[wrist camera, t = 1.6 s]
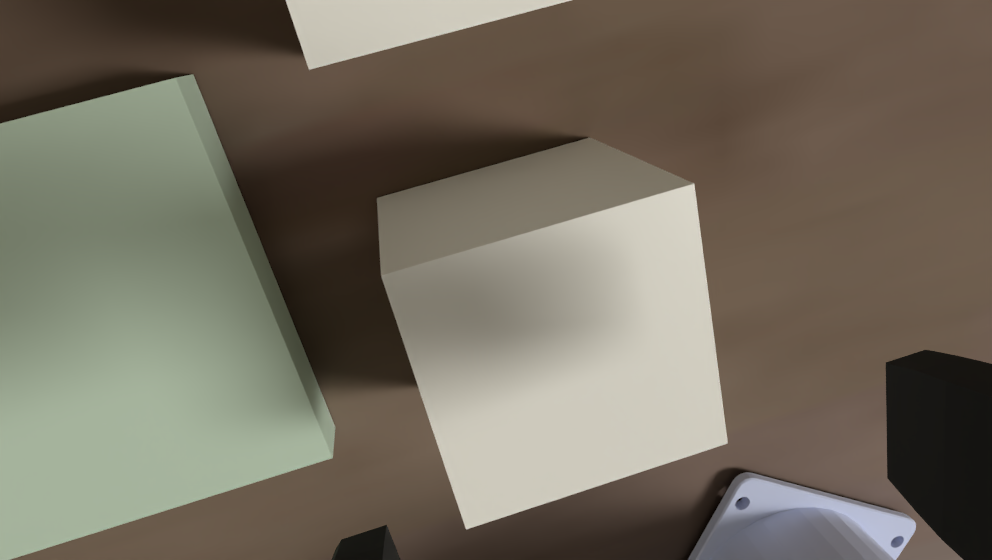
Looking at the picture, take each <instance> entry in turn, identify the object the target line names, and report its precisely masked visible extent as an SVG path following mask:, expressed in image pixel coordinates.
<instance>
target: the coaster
mask: <svg viewBox="0 0 992 560" xmlns="http://www.w3.org/2000/svg"><path fill="white" fill-rule="evenodd" d="M334 437H335V425H334V423H333V420H332V418H331V415H330V413H329V410H328V408H327V405H326V403H325V400H324V398H323V395H322V393H321V390H320V388H319V385H318V383H317V381H316V378H315V376H314V373H313V371H312V368H311V366H310V363H309V361H308V358H307V356H306V353H305V351H304V348H303V346H302V343H301V341H300V338H299V336H298V333H297V331H296V328H295V326H294V323H293V321H292V318H291V316H290V313H289V311H288V308H287V306H286V304H285V301H284V299H283V296H282V294H281V291H280V289H279V286H278V284H277V281H276V279H275V276H274V274H273V271H272V269H271V266H270V264H269V261H268V259H267V256H266V254H265V251H264V249H263V246H262V244H261V241H260V239H259V236H258V234H257V232H256V229H255V227H254V224H253V222H252V219H251V217H250V214H249V212H248V209H247V207H246V204H245V202H244V199H243V197H242V194H241V192H240V189H239V187H238V184H237V182H236V179H235V177H234V174H233V172H232V169H231V167H230V164H229V162H228V160H227V157H226V155H225V152H224V150H223V147H222V145H221V142H220V140H219V137H218V135H217V132H216V130H215V127H214V125H213V122H212V120H211V117H210V115H209V112H208V110H207V107H206V105H205V102H204V100H203V97H202V95H201V92H200V90H199V87H198V85H197V83H196V80H195V78H194V75H193V74H192V75H187V76H182V77H177V78H173V79H169V80H165V81H161V82H157V83H153V84H150V85H146V86H142V87H138V88H134V89H131V90H127V91H123V92H119V93H115V94H111V95H108V96H104V97H100V98H96V99H92V100H88V101H85V102H81V103H77V104H73V105H69V106H66V107H62V108H58V109H54V110H50V111H46V112H43V113H39V114H35V115H31V116H27V117H23V118H20V119H16V120H12V121H8V122H4V123H0V560H10V559H13V558H16V557H19V556H23V555H26V554H29V553H32V552H35V551H39V550H42V549H45V548H48V547H51V546H54V545H58V544H61V543H64V542H67V541H70V540H73V539H77V538H80V537H83V536H86V535H89V534H93V533H96V532H99V531H102V530H105V529H108V528H112V527H115V526H118V525H121V524H124V523H127V522H131V521H134V520H137V519H140V518H143V517H147V516H150V515H153V514H156V513H159V512H162V511H166V510H169V509H172V508H175V507H178V506H181V505H185V504H188V503H191V502H194V501H197V500H201V499H204V498H207V497H210V496H213V495H216V494H220V493H223V492H226V491H229V490H232V489H235V488H239V487H242V486H245V485H248V484H251V483H255V482H258V481H261V480H264V479H267V478H270V477H274V476H277V475H280V474H283V473H286V472H289V471H293V470H296V469H299V468H302V467H305V466H309V465H312V464H315V463H318V462H321V461H324V460H328V459H331V458H333V448H334Z"/></svg>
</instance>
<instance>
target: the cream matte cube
mask: <svg viewBox="0 0 992 560" xmlns="http://www.w3.org/2000/svg"><path fill="white" fill-rule="evenodd" d="M377 212H378V230H379V249H380V268H381V277H382V280H383V283H384V286H385V289H386V292H387V295H388V298H389V301H390V304H391V307H392V310H393V313H394V316H395V319H396V322H397V325H398V328H399V331H400V334H401V337H402V340H403V343H404V346H405V349H406V352H407V355H408V358H409V361H410V364H411V367H412V370H413V373H414V376H415V379H416V382H417V385H418V388H419V391H420V394H421V397H422V400H423V403H424V406H425V409H426V412H427V415H428V418H429V421H430V424H431V427H432V429H433V432H434V435H435V438H436V441H437V444H438V447H439V450H440V453H441V456H442V459H443V462H444V465H445V468H446V471H447V474H448V477H449V480H450V483H451V486H452V489H453V492H454V495H455V498H456V501H457V504H458V507H459V510H460V513H461V516H462V519H463V522H464V525H465V528H466V529H469V528H472V527H475V526H478V525H481V524H484V523H487V522H490V521H494V520H497V519H500V518H503V517H506V516H509V515H512V514H515V513H518V512H521V511H524V510H527V509H530V508H533V507H536V506H539V505H542V504H545V503H548V502H551V501H554V500H557V499H560V498H563V497H566V496H569V495H572V494H575V493H579V492H582V491H585V490H588V489H591V488H594V487H597V486H600V485H603V484H606V483H609V482H612V481H615V480H618V479H621V478H624V477H627V476H630V475H633V474H636V473H639V472H642V471H645V470H648V469H651V468H654V467H657V466H660V465H664V464H667V463H670V462H673V461H676V460H679V459H682V458H685V457H688V456H691V455H694V454H697V453H700V452H703V451H706V450H709V449H712V448H715V447H718V446H721V445H724V444H727V443H728V442H727V434H726V426H725V419H724V411H723V403H722V395H721V388H720V380H719V372H718V365H717V357H716V349H715V341H714V334H713V326H712V318H711V310H710V303H709V295H708V287H707V279H706V272H705V264H704V256H703V248H702V241H701V233H700V225H699V218H698V210H697V202H696V194H695V187H694V183H692V182H689V181H687V180H685V179H683V178H680V177H678V176H676V175H673V174H671V173H669V172H667V171H664V170H662V169H660V168H658V167H655V166H653V165H651V164H649V163H646V162H644V161H642V160H640V159H637V158H635V157H633V156H631V155H628V154H626V153H624V152H622V151H619V150H617V149H615V148H613V147H610V146H608V145H606V144H604V143H601V142H599V141H597V140H595V139H592V138H586V139H583V140H579V141H576V142H572V143H569V144H565V145H562V146H558V147H555V148H551V149H548V150H544V151H541V152H537V153H533V154H530V155H526V156H523V157H519V158H516V159H512V160H509V161H505V162H502V163H498V164H495V165H491V166H488V167H484V168H481V169H477V170H474V171H470V172H466V173H463V174H459V175H456V176H452V177H449V178H445V179H442V180H438V181H435V182H431V183H428V184H424V185H421V186H417V187H414V188H410V189H406V190H403V191H399V192H396V193H392V194H389V195H385V196H382V197H378V198H377Z"/></svg>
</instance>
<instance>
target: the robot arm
mask: <svg viewBox="0 0 992 560" xmlns="http://www.w3.org/2000/svg"><path fill="white" fill-rule="evenodd" d="M886 405H887V473H888V479H889V480H890V482H891V483H892V484H893V485H894V486H895V487H896V489H897V490H898V491H899V492H900V493H901V494H902V496H903V497H904V498H905V499H906V500H907V501H908V503H909V504H910V505H911V506H912V507H913V508H914V510H915V511H916V512H917V513H918V514H919V515H920V516H921V517H922V518H923V520H924V521H925V522H926V523H927V524H928V525H929V526H930V527H931V528H932V529H933V530H934V531H935V533H936V534H937V535H938V536H939V537H940V538H941V539H942V540H943V541H944V542H945V543H946V544H947V545H948V546H949V547H950V548H952V549H953V550H954V551H955V552H956V553H957V554H958V555H959V556H960V557H961V558H962V559H964V560H992V364H990V363H986V362H981V361H977V360H973V359H969V358H964V357H960V356H955V355H950V354H945V353H940V352H935V351H929V350H923V351H920V352H917V353H914V354H911V355H908V356H905V357H902V358H899V359H896V360H893V361H890V362H886ZM742 497H743V498H742ZM740 498H742V499H741V500H740V501H738V502H736V501H737V500H738V499H740ZM915 529H916V523H915V521H914V520H913V519H912V518H910V517H909V516H908V515H906V514H905V513H901V512H897V511H894V510H890V509H886V508H882V507H878V506H875V505H871V504H867V503H863V502H860V501H856V500H852V499H848V498H845V497H841V496H837V495H833V494H830V493H826V492H822V491H818V490H815V489H811V488H807V487H803V486H799V485H796V484H792V483H788V482H784V481H781V480H777V479H773V478H769V477H766V476H762V475H758V474H754V473H749V472H745V473H742V474H739V475H738V476H736V477H735V478H734V480H733V481H732V483H731V484H730V486H729V488H728V490H727V491H726V493H725V495H724V497H723V498H722V500H721V502H720V504H719V505H718V507H717V509H716V511H715V513H714V514H713V516H712V518H711V520H710V521H709V523H708V525H707V527H706V528H705V530H704V532H703V534H702V535H701V537H700V539H699V541H698V542H697V544H696V546H695V548H694V550H693V551H692V553H691V555H690V557H689V558H688V560H896V559H897V557H898V556H899V554H900V553H901V551H902V550H903V548H904V547H905V545H906V544H907V543H908V541H909V540H910V538H911V537H912V535H913V534H914V532H915ZM332 560H400V558H399V555H398V553H397V550H396V548H395V545H394V542H393V540H392V537H391V535H390V532H389V530H388V527H387V525H385V526H382V527H379V528H376V529H373V530H370V531H367V532H364V533H360V534H357V535H354V536H351V537H348V538H345V539H342V540H341V541H340V543H339V545H338V546H337V548H336V550H335V553H334V555H333V558H332Z"/></svg>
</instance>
